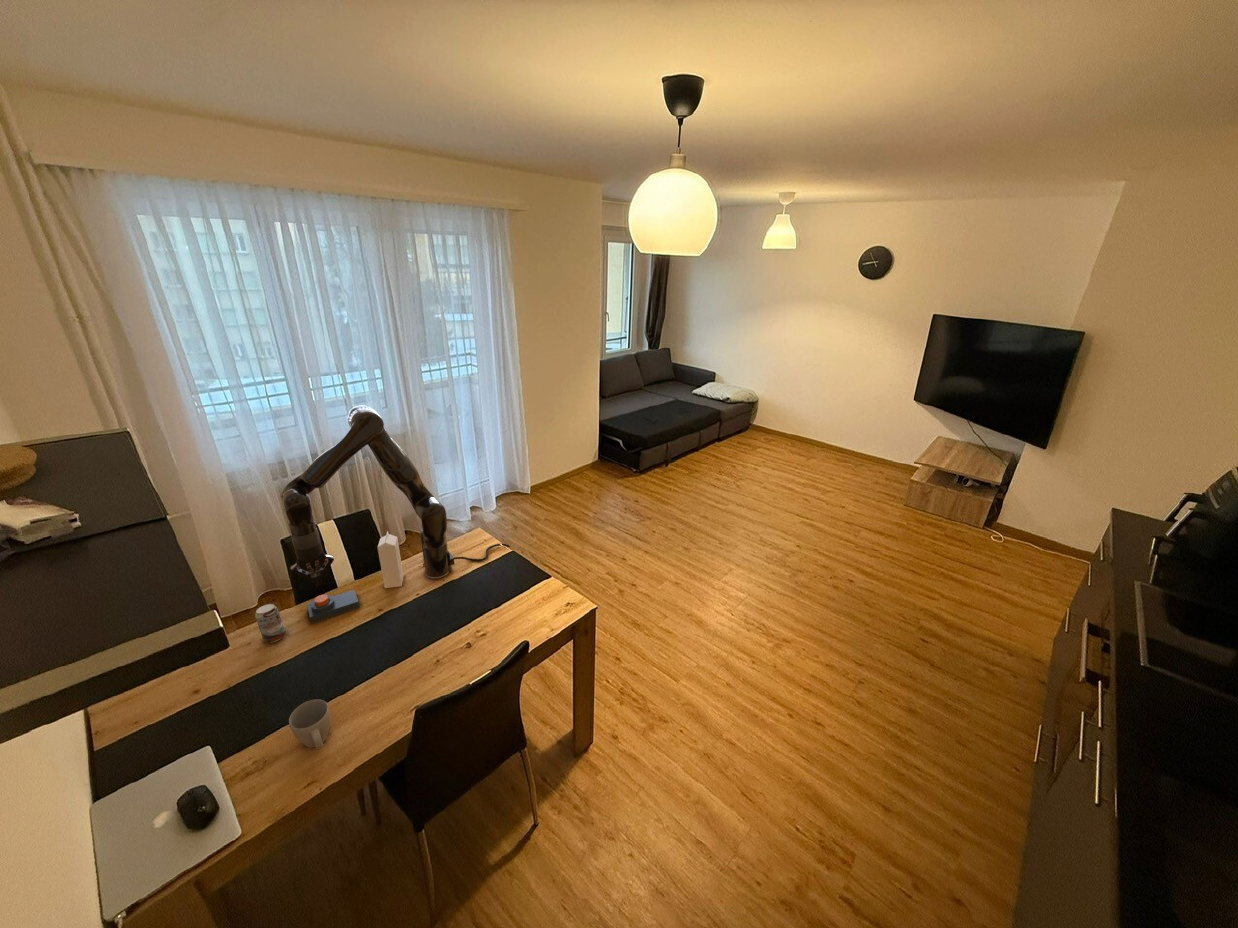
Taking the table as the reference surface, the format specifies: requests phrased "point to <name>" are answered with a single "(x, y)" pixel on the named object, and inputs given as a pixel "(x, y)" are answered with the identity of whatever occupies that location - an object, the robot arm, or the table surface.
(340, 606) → the button base
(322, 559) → the robot arm
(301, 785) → the table surface
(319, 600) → the release button
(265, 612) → the beverage can
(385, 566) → the milk
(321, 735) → the mug
